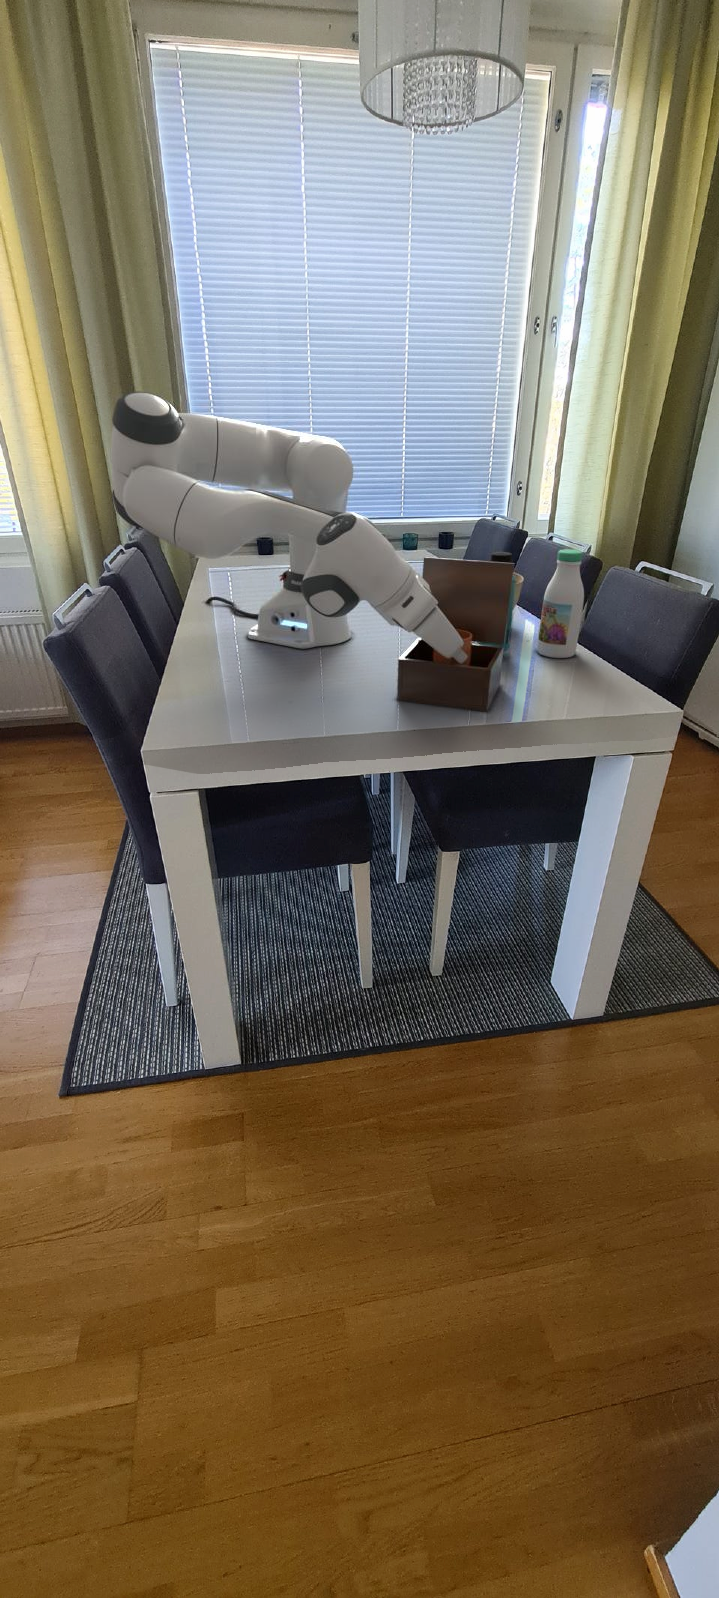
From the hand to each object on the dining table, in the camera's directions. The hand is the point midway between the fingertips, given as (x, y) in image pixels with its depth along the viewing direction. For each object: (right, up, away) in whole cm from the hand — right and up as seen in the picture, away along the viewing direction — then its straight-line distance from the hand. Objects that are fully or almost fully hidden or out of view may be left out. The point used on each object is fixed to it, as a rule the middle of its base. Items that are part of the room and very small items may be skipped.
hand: (455, 652), depth 119 cm
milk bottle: (+24, +5, +23) cm, 34 cm away
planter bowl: (+12, +15, +41) cm, 45 cm away
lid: (+2, +9, +2) cm, 10 cm away
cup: (-1, -4, +2) cm, 4 cm away
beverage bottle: (+10, +4, +22) cm, 25 cm away
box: (-1, -6, +4) cm, 8 cm away
